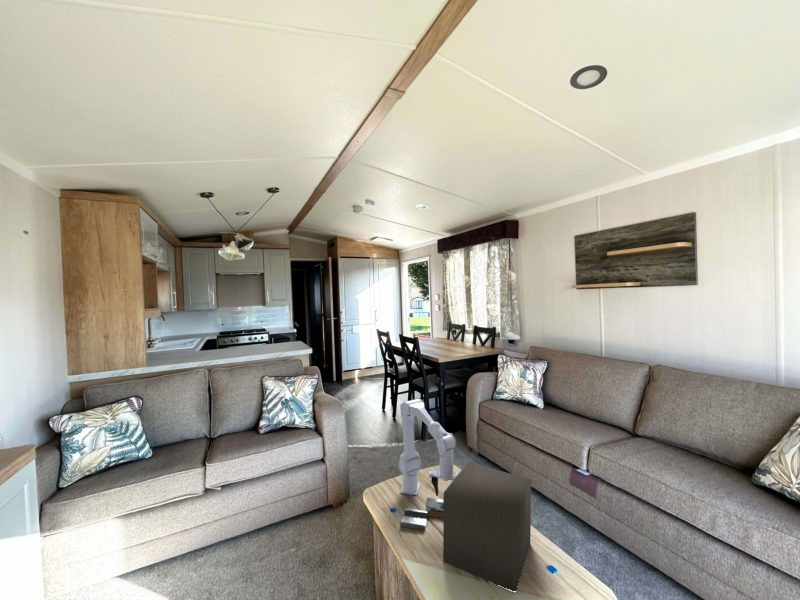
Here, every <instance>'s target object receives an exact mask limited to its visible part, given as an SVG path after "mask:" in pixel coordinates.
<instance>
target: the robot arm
mask: <svg viewBox="0 0 800 600" xmlns="http://www.w3.org/2000/svg"><path fill="white" fill-rule="evenodd" d="M425 407H426V406H425V402H423V400H422V399H421V398H416V399H411V400H406V401H402V403H401V404H400V405H399V408H400V418H401V425H402V427H401V428H402V438H403V452H402V453H401V454H400V456H399V462H398V468H399V470H400V472H401V473H402V487H401V489H400V494H406V495H411V496H413V495H414V496H417V495H418V493H419V491H420V487H421V483H419V471H420V469H421V467H422V459H421V457H420V453H419V452H418V451H416V444H415V443H416V442H415V431H414V417H418V418H419V419H420V420H421V421H422V422H423V423H424V424H425V425H426V427H427V431H428V433H429V434H430V435H431V436H432V438H433V439H434V440H435V441H436V447H437V449H438V454H439V470H435V471H430V470H429V472H428V478H429V479H431V480H430V482H431V484H432V486H433V489H434V492H435V496H436V497H438V496H439V479H441V480H442V481H444V482H448V481H453V480H454V479H455V478H456V476H457V475H458V474H459V473H456V472H454V448H456V446H457V438H456V437H455V436H454V435H453V433H451V432H450V433H449V432H447V431H446V430H445V429H444V428H443V426H442V425H441V424H440V422H438V421H434V420H433V418H432V417H431V415H430V414H429V413H428V411H427V410H426V408H425Z"/></svg>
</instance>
